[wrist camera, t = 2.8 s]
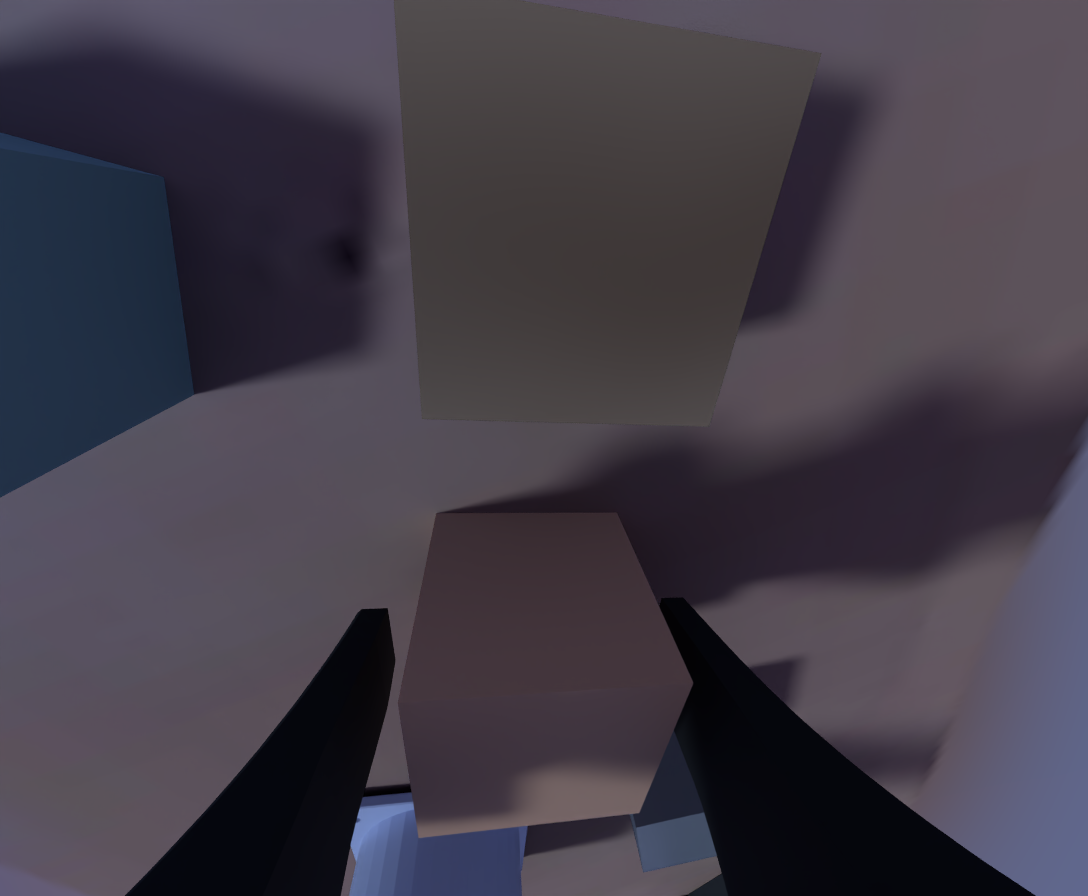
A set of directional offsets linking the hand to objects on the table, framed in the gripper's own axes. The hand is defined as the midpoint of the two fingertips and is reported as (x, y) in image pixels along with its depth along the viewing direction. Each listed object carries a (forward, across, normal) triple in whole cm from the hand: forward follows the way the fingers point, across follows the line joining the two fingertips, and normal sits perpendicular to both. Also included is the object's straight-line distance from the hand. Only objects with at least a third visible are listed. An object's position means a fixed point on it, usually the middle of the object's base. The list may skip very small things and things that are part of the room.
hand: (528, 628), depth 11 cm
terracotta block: (+2, 0, 0) cm, 2 cm away
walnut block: (+2, 0, -9) cm, 9 cm away
